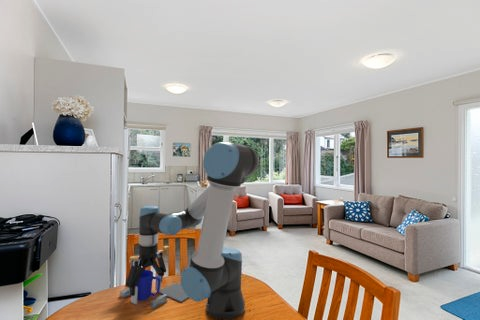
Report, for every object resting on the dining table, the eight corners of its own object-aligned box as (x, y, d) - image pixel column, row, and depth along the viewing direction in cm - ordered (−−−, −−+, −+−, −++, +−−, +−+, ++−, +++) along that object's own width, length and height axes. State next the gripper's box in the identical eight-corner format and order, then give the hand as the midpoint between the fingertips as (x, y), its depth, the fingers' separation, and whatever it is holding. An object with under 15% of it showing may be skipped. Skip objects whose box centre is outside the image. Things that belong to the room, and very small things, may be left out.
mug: (154, 305, 102) (155, 280, 102) (126, 301, 105) (127, 276, 105) (164, 295, 110) (165, 272, 110) (138, 292, 113) (139, 268, 113)
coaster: (199, 292, 114) (199, 290, 114) (181, 302, 105) (181, 301, 105) (176, 283, 122) (176, 282, 122) (157, 292, 113) (157, 291, 113)
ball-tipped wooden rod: (165, 251, 127) (165, 245, 127) (169, 253, 124) (170, 247, 124) (127, 262, 112) (127, 254, 112) (131, 264, 110) (131, 256, 110)
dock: (169, 299, 107) (170, 269, 107) (149, 310, 99) (151, 277, 99) (140, 286, 117) (141, 259, 118) (119, 296, 109) (120, 266, 109)
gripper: (164, 235, 120) (162, 283, 120) (116, 249, 100) (114, 306, 100) (175, 238, 116) (174, 287, 116) (128, 253, 96) (126, 312, 96)
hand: (146, 296), depth 108 cm, fingers open, 11 cm apart
